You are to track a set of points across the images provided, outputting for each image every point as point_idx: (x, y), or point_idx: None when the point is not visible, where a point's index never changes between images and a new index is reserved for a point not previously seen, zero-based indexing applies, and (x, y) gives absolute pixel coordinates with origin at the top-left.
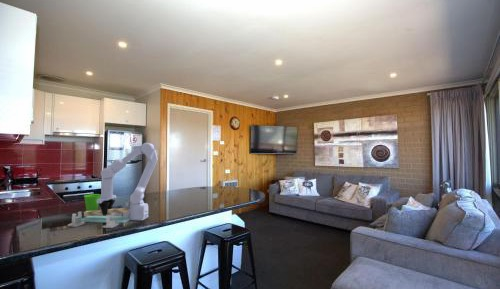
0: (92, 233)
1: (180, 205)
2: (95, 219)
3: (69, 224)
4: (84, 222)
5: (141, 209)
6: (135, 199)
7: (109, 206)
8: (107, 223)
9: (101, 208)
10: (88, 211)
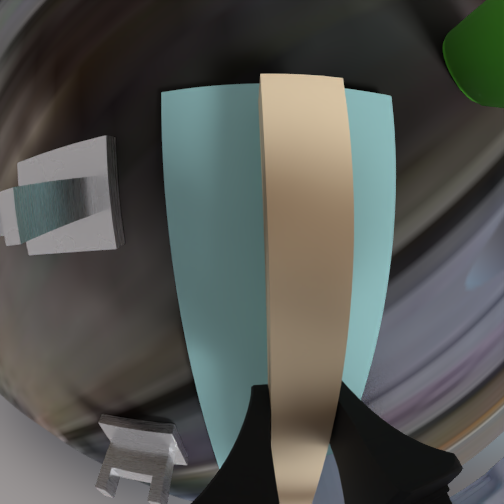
0: (35, 400)
1: (499, 423)
2: (229, 288)
3: (20, 177)
4: (104, 249)
5: None
6: None
7: (344, 466)
8: (112, 449)
9: (234, 450)
10: (300, 137)
